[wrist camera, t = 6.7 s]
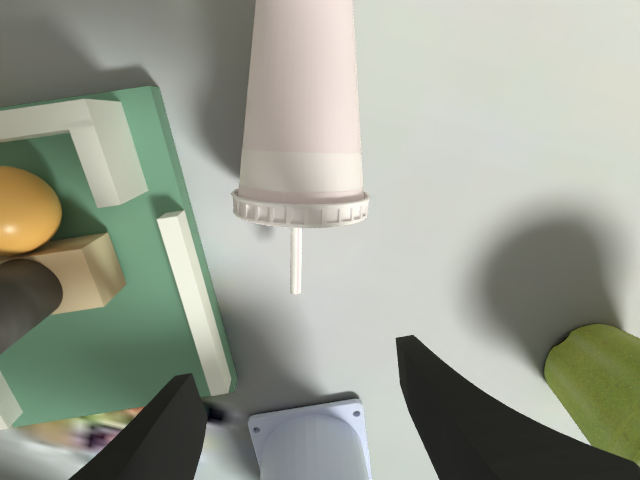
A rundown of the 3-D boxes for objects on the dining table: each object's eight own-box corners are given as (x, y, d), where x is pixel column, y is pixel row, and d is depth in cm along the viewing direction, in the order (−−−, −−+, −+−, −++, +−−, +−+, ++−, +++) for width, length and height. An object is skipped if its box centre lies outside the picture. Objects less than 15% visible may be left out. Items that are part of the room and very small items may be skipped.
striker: (126, 284, 19) (58, 351, 14) (16, 301, 19) (-97, 375, 14) (107, 232, 18) (26, 281, 13) (-9, 250, 18) (-142, 308, 13)
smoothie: (208, -15, 15) (222, 283, 19) (249, -96, 10) (257, 342, 14) (336, 13, 18) (326, 267, 22) (422, -39, 13) (389, 312, 17)
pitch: (237, 378, 23) (226, 431, 20) (27, 412, 23) (-28, 472, 19) (159, 87, 17) (119, 79, 13) (-126, 129, 17) (-252, 132, 13)
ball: (18, 247, 14) (6, 147, 14) (-85, 263, 14) (-95, 162, 14) (85, 249, 18) (76, 171, 18) (6, 261, 18) (-3, 183, 18)
